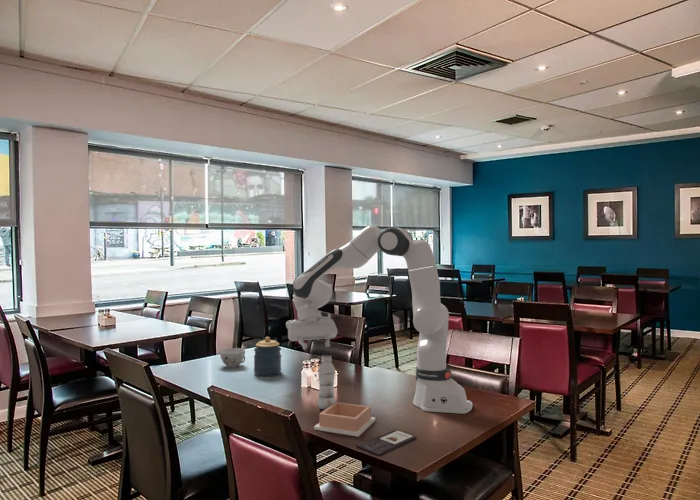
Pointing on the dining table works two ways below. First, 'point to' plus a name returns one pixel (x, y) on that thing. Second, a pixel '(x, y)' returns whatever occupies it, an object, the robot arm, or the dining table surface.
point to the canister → (267, 358)
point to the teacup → (232, 356)
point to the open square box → (345, 419)
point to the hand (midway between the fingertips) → (316, 347)
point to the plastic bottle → (326, 383)
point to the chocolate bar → (386, 442)
